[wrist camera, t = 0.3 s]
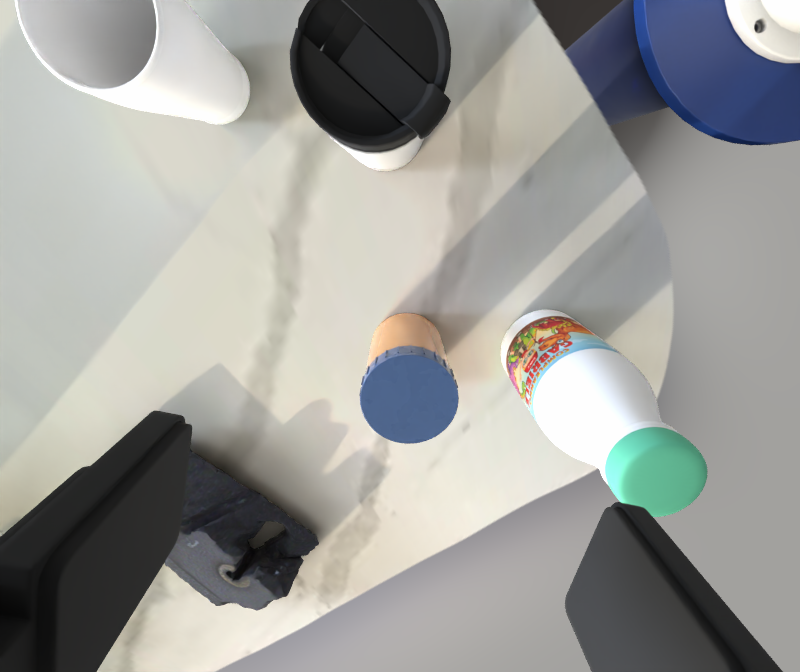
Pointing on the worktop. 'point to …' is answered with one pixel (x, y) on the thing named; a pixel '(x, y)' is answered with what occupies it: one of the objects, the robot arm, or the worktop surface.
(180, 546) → the dark slate chunk
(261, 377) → the worktop surface
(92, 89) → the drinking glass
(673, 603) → the robot arm
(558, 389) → the milk bottle
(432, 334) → the honey jar
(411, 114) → the travel mug
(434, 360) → the jam lid
